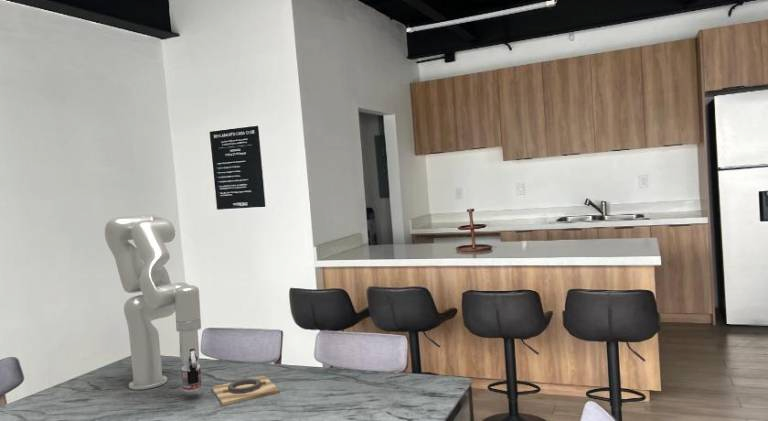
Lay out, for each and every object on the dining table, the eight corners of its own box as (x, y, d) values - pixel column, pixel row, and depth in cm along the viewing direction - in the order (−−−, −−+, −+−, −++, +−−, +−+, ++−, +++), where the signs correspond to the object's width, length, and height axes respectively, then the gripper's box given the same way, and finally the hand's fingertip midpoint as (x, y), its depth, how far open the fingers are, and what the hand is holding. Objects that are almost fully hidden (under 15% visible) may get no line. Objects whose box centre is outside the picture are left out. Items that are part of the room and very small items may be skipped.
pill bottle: (195, 392, 182) (193, 361, 181) (179, 391, 183) (177, 361, 182) (204, 386, 187) (203, 356, 187) (188, 385, 189) (187, 355, 188)
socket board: (211, 389, 192) (211, 382, 191) (264, 378, 200) (264, 371, 200) (222, 405, 175) (221, 397, 175) (279, 392, 183) (279, 385, 183)
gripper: (172, 320, 190) (176, 374, 191) (179, 332, 175) (183, 390, 176) (196, 317, 193) (199, 370, 194) (205, 328, 178) (208, 386, 179)
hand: (191, 379), depth 185 cm, fingers closed on pill bottle, 5 cm apart
